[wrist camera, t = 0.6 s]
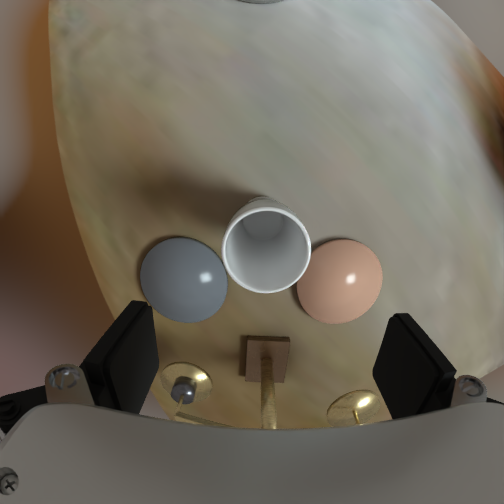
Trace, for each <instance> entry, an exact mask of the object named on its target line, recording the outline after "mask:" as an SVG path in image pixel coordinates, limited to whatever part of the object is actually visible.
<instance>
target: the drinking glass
mask: <svg viewBox="0 0 504 504" xmlns="http://www.w3.org/2000/svg"><path fill="white" fill-rule="evenodd" d="M221 254H222V260H223V263H224V266H225V268H226V270H227V272H228V274H229V275H230V276H231V278H232V279H233V280H234V281H235V282H236V283H238V284H239V285H240V286H242V287H244V288H246V289H248V290H250V291H254V292H258V293H273V292H278V291H281V290H284V289H286V288H288V287H290V286H291V285H293V284H294V283H295V282H297V281H298V280H299V279H300V277H301V276H302V275H303V274H304V272H305V270H306V269H307V266H308V264H309V261H310V256H311V243H310V238H309V235H308V233H307V231H306V229H305V227H304V225H303V223H302V222H301V220H300V219H299V217H298V216H297V215H296V214H295V213H294V212H293V211H292V210H291V209H290V208H288V207H287V206H285V205H284V204H282V203H280V202H277V201H276V200H274V199H272V198H269V197H256V198H253V199H252V200H250V201H249V202H247V203H246V205H244V206H243V207H241V208H240V209H239V210H238V211H237V212H236V213H235V214H234V216H233V217H232V218H231V220H230V221H229V223H228V225H227V228H226V230H225V233H224V237H223V240H222V246H221Z"/></svg>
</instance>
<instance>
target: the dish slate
mask: <svg viewBox="0 0 504 504" xmlns="http://www.w3.org/2000/svg"><path fill="white" fill-rule="evenodd" d="M140 281H141V286H142V290H143V292H144V295H145V297H146V298H147V300H148V301H149V303H150V304H151V305H152V306H153V308H154V309H155V310H157V311H158V312H159V313H160V314H162V315H163V316H165V317H167V318H169V319H172V320H174V321H178V322H184V323H193V322H199V321H202V320H205V319H207V318H209V317H210V316H212V315H213V314H215V313H216V312H217V311H218V310H219V308H220V307H221V305H222V304H223V302H224V300H225V297H226V293H227V288H228V277H227V272H226V269H225V266H224V264H223V262H222V260H221V259H220V257H219V256H218V255H217V254H216V252H215V251H214V250H212V249H211V248H210V247H209V246H207V245H206V244H204V243H202V242H201V241H198V240H196V239H192V238H188V237H174V238H170V239H166V240H164V241H162V242H160V243H159V244H157V245H156V246H155V247H154V248H152V249H151V250H150V251H149V253H148V254H147V255H146V257H145V259H144V261H143V263H142V266H141V272H140Z"/></svg>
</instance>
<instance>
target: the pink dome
mask: <svg viewBox="0 0 504 504" xmlns="http://www.w3.org/2000/svg"><path fill="white" fill-rule="evenodd" d="M296 286H297V293H298V297H299V300H300V303H301V305H302V307H303V308H304V310H305V311H306V312H307V313H308V314H309V315H310V316H311V317H313V318H314V319H316V320H318V321H321V322H324V323H329V324H340V323H345V322H349V321H351V320H354V319H356V318H358V317H359V316H361V315H362V314H364V313H365V312H366V311H367V310H368V309H369V308H370V307H371V306H372V305H373V303H374V302H375V300H376V299H377V297H378V295H379V292H380V289H381V286H382V269H381V265H380V262H379V260H378V258H377V257H376V255H375V254H374V253H373V252H372V251H371V250H370V249H369V248H368V247H367V246H365V245H364V244H362V243H360V242H358V241H355V240H351V239H335V240H331V241H328V242H326V243H323V244H322V245H320V246H318V247H317V248H315V249H314V250H313V251H312V252H311V256H310V261H309V264H308V266H307V269H306V270H305V272H304V274H303V275H302V276H301V277H300V279H299V280H298V281H297V284H296Z"/></svg>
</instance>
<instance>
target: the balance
mask: <svg viewBox="0 0 504 504" xmlns="http://www.w3.org/2000/svg"><path fill="white" fill-rule="evenodd" d="M289 346H290V338H289V337H266V336H248V342H247V359H246V377H245V381H250V382H261V429H277V418H276V402H275V387H274V382H279V383H284V378H285V372H286V366H287V360H288V353H289ZM161 383H162V386H163V387H164V389H165V390H166V391H167V392H168V393H169V394H170V395H171V397H172V398H173V399H174V400H175V401H176V402H178V405H177V408H176V411H175V415H174V416H175V419H176V421H180V422H187V423H194V424H203V425H212V426H223V427H234V426H230V425H226V424H222V423H217V422H214V421H210V420H206V419H202V418H199V417H195V416H192V415H188V414H185V413H182V412H180V409H181V406H182V404H190V403H192V402H197V401H201V400H204V399H205V398H207V397H208V396H209V395H210V393H211V391H212V380H211V378H210V376H209V374H208V373H207V372H206V371H205V370H203V369H202V368H200V367H199V366H197V365H195V364H192V363H188V362H174V363H171V364H169V365H167V366H166V367H165V368H164V369H163V371H162V374H161ZM379 407H380V400H379V397H378V395H377V394H376V393H375V392H373V391H370V390H356V391H352V392H349V393H347V394H345V395H343V396H341V397H339V398H338V399H336V400H335V401H334V402H333V403H332V404H331V405H330V406H329V408H328V410H327V419H328V422H329V424H330V425H332V426H333V427H337V426H348V425H358V424H363V423H365V422H367V421H368V420H370V419H371V418H372V417H373V416H374V415H375V414H376V413H377V411H378V410H379ZM237 428H239V427H237Z"/></svg>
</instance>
